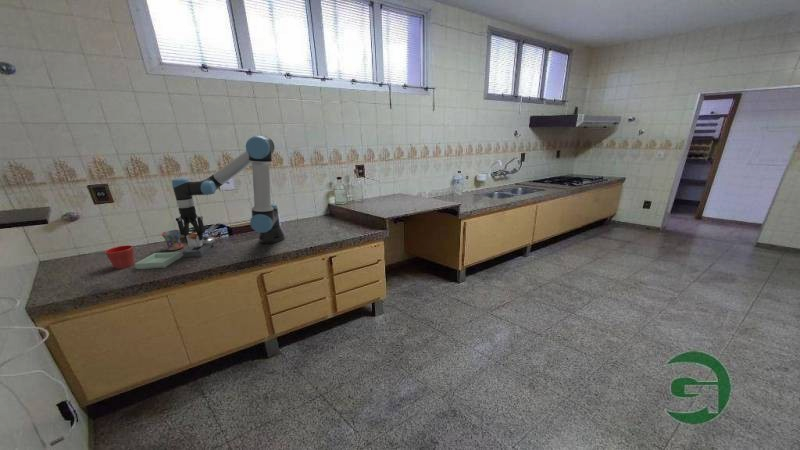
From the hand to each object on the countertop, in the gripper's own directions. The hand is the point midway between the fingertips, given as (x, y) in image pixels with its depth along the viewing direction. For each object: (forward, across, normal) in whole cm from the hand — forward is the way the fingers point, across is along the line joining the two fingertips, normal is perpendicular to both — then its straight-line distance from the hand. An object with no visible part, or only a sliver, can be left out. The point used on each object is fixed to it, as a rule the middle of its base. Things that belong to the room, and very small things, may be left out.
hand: (195, 245), depth 172 cm
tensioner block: (+5, 0, -5) cm, 7 cm away
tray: (+5, +13, +12) cm, 18 cm away
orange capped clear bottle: (+5, 0, 0) cm, 5 cm away
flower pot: (+5, +30, +14) cm, 33 cm away
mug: (+5, +19, -10) cm, 22 cm away
